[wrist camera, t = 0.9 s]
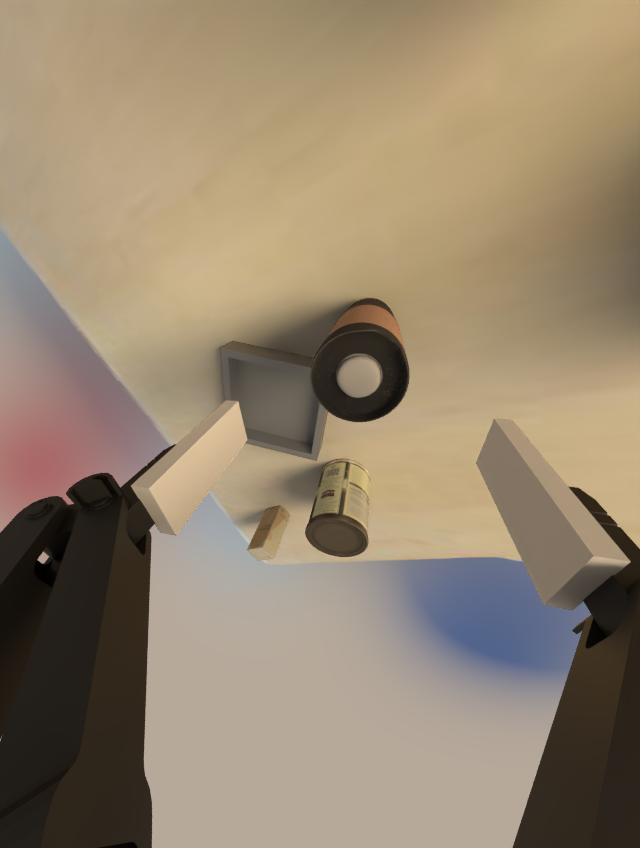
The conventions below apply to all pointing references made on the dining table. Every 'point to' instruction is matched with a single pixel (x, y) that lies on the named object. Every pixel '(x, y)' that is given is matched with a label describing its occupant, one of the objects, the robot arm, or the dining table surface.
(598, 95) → the dining table surface
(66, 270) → the dining table surface
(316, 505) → the coffee can
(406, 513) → the dining table surface
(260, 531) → the box
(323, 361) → the travel mug
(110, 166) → the dining table surface
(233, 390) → the bin
